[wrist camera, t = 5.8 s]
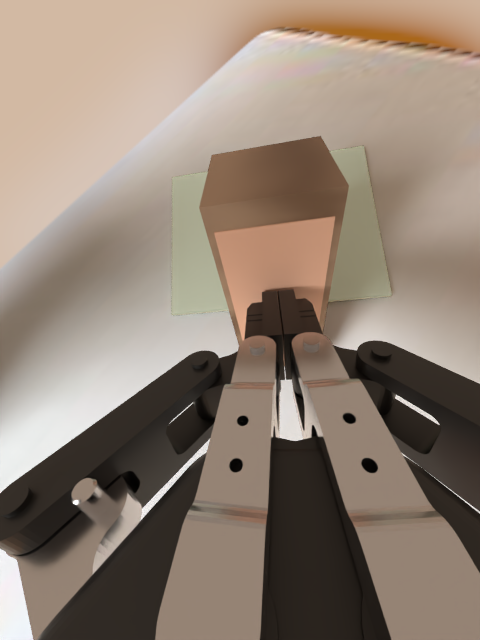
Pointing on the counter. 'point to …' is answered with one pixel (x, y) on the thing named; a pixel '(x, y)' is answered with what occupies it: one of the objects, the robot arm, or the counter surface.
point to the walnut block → (274, 223)
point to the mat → (351, 261)
